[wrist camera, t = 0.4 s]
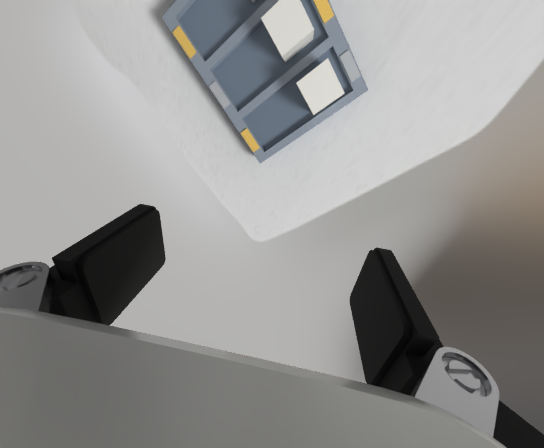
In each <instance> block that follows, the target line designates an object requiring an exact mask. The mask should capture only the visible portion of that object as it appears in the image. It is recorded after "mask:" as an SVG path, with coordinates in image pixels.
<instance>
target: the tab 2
mask: <svg viewBox="0 0 544 448" xmlns="http://www.w3.org/2000/svg"><path fill="white" fill-rule="evenodd" d="M296 84H297V86H298V87H299V89H300V91H301V93H302V95H303V97H304V98H305V100H306V102H307V104H308V106H309V108H310V110H311V111H312V113H313V115H315V114H316V113H317V112H319V111H320V110H322V109H323V108H325V107H326V106H327V105H329V104H330V103H332V102H333V101H335V100H336V99H337V98H339V97H340V96H342V95H343V94H345V93H344V91H343V89H342V86H341V84H340V82H339V80H338V78H337V76H336V74H335V72H334V70H333V68H332V65H331V63H330V61H329V59H328V58H327V59H326V60H325V61H324V62H322V63H321V64H320V65H318V66H317V67H316V68H315V69H313V70H312V71H311V72H310V73H308V74H307V75H306V76H304V77H303V78H302V79H301V80H299V81H298V82H297V83H296Z"/></svg>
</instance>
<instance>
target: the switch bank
mask: <svg viewBox="0 0 544 448" xmlns="http://www.w3.org/2000/svg"><path fill="white" fill-rule="evenodd" d="M278 1H279V0H256V1H255V2H254V3H253V2H252V0H176V1H175V2H174V3H173V4H172V6H171V7H170V8H169V9H168V11H167V12H166V13H165V14H164V16H163V17H162V19H163V21H164V22H165V24H166V25H167V27H168V28H169V30H170V31H171V33H172V34H173V36H174V37H175V39H176V40H177V42H178V43H179V45H180V46H181V47H182V49H183V50H184V52H185V53H186V55H187V56H188V58H189V59H190V61H191V62H192V64H193V65H194V67H195V68H196V70H197V71H198V73H199V74H200V76H201V77H202V78H203V80H204V81H205V83H206V84H207V86H208V87H209V89H210V90H211V92H212V93H213V95H214V96H215V98H216V99H217V101H218V102H219V104H220V105H221V106H222V108H223V109H224V111H225V112H226V114H227V115H228V117H229V118H230V120H231V121H232V123H233V124H234V126H235V127H236V129H237V130H238V132H239V133H240V134H241V136H242V137H243V139H244V140H245V142H246V143H247V145H248V146H249V148H250V149H251V151H252V152H253V154H254V155H255V157H256V158H257V160H258V161H259V163H262V162H263V161H264V160H266V159H267V158H269V157H270V156H272V155H273V154H275V153H276V152H278V151H279V150H281V149H282V148H284V147H285V146H287V145H288V144H290V143H291V142H293V141H294V140H295V139H297V138H298V137H300V136H301V135H303V134H304V133H306V132H307V131H309V130H310V129H312V128H313V127H315V126H316V125H318V124H319V123H321V122H322V121H323V120H325V119H326V118H328V117H329V116H331V115H332V114H334V113H335V112H337V111H338V110H340V109H341V108H343V107H344V106H346V105H347V104H349V103H350V102H352V101H353V100H354V99H356V98H357V97H359V96H360V95H362V94H363V93H365V92H366V91H367V90H368V88H367V86H366V84H365V81H364V79H363V77H362V75H361V72H360V70H359V68H358V65H357V63H356V61H355V59H354V56H353V54H352V52H351V50H350V47H349V45H348V43H347V40H346V38H345V36H344V34H343V31H342V29H341V27H340V25H339V22H338V20H337V18H336V15H335V13H334V11H333V9H332V6H331V4H330V2H329V0H300V1H301V3H302V5H303V7H304V9H305V11H306V13H307V15H308V17H309V19H310V22H311V24H312V26H313V28H314V36H313V40H312V41H311V42H309V43H308V44H307V45H306V46H305V47H304V48H302V49H301V50H300V51H299V52H298V53H296V54H295V55H294V56H293V57H292V58H290V59H289V60H288V61H287V62H286V63H285V61H284V60H283V58H282V56H281V54H280V52H279V51H278V49H277V47H276V45H275V43H274V41H273V40H272V38H271V36H270V34H269V32H268V30H267V29H266V27H265V25H264V23H263V21H262V19H261V18H262V17H263V16H264V15H265V14H266V13H267V12H268V11H269V10H270V9H271V8H272V7H273V6H274V5H275V4H276V3H277V2H278ZM327 58H328V59H329V61H330V63H331V65H332V68H333V70H334V72H335V74H336V76H337V78H338V80H339V82H340V84H341V86H342V89H343V91H344V93H345V94H343V95H342V96H340V97H339V98H337V99H336V100H335V101H333V102H332V103H330V104H329V105H327V106H326V107H325V108H323V109H322V110H320V111H319V112H317V113H316V114H315V115H313V113H312V111H311V110H310V108H309V106H308V104H307V102H306V100H305V98H304V97H303V95H302V93H301V91H300V89H299V87H298V86H297V84H296V83H297V82H298V81H299V80H301V79H302V78H303V77H304V76H306V75H307V74H308V73H310V72H311V71H312V70H313V69H315V68H316V67H317V66H318V65H320V64H321V63H322V62H324V61H325V60H326V59H327Z"/></svg>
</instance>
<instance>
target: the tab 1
mask: <svg viewBox="0 0 544 448" xmlns="http://www.w3.org/2000/svg"><path fill="white" fill-rule="evenodd" d="M261 19H262V21H263V23H264V25H265V27H266V29H267V30H268V32H269V34H270V36H271V38H272V40H273V41H274V43H275V45H276V47H277V49H278V51H279V52H280V54H281V56H282V58H283V60H284V61H285V63H286V62H287V61H288V60H289V59H290V58H292V57H293V56H294V55H295V54H296V53H298V52H299V51H300V50H301V49H302V48H304V47H305V46H306V45H307V44H308V43H309V42H311V41H312V40H313V36H314V28H313V26H312V24H311V22H310V19H309V17H308V15H307V13H306V11H305V9H304V7H303V5H302V3H301V1H300V0H279V1H278V2H277V3H276V4H275V5H274V6H273V7H272V8H271V9H270V10H269V11H268V12H267V13H266V14H265V15H264V16H263V17H262V18H261Z"/></svg>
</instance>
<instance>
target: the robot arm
mask: <svg viewBox="0 0 544 448" xmlns="http://www.w3.org/2000/svg"><path fill="white" fill-rule="evenodd" d="M52 260H53V262H54V264H55V265H54V266H52V267H51V268H49V266H48V265H47V264H45V263H42V262H26V263H20V264H17V265H13V266H10V267H7V268H4V269H2V270H0V448H544V435H543V434H542V433H541V432H539V431H538V430H537V429H535V428H534V427H533V426H532V425H530V424H529V423H527V422H526V421H525V420H524V419H522V418H521V417H520V416H519V415H517V414H516V413H515V412H514V411H512V410H511V409H510V408H509V407H507V406H506V405H505V404H503V403H502V402H501V401H499V390H498V387H497V385H496V383H495V381H494V379H493V378H492V377H491V375H490V374H489V372H488V371H487V370H486V369H485V368H484V367H483V366H482V365H481V364H480V363H479V362H477V361H476V360H475V359H473V358H472V357H471V356H469V355H468V354H466V353H464V352H462V351H460V350H457V349H455V348H450V347H443V345H442V343H441V342H440V340H439V336H438V335H437V333H436V331H435V329H434V327H433V325H432V323H431V322H430V320H429V318H428V316H427V314H426V313H425V311H424V309H423V307H422V305H421V303H420V302H419V300H418V298H417V296H416V294H415V293H414V291H413V289H412V287H411V285H410V284H409V282H408V280H407V278H406V276H405V274H404V273H403V271H402V269H401V267H400V265H399V263H398V262H397V260H396V258H395V256H394V254H393V253H392V251H391V250H386V249H381V248H375V249H374V250H370V251H369V253H368V255H367V258H366V260H365V262H364V265H363V267H362V269H361V272H360V274H359V276H358V279H357V281H356V284H355V286H354V288H353V291H352V293H351V296H350V306H351V310H352V316H353V320H354V326H355V331H356V336H357V341H358V345H359V350H360V355H361V360H362V365H363V370H364V374H365V380H366V382H367V384H365V383H361V382H357V381H353V380H349V379H345V378H341V377H337V376H333V375H329V374H324V373H320V372H316V371H311V370H307V369H302V368H298V367H293V366H289V365H285V364H280V363H276V362H272V361H267V360H263V359H258V358H254V357H250V356H245V355H240V354H236V353H232V352H227V351H223V350H218V349H214V348H209V347H205V346H200V345H196V344H191V343H187V342H182V341H178V340H173V339H168V338H163V337H159V336H155V335H150V334H146V333H141V332H136V331H132V330H127V329H122V328H118V327H113V326H109V325H110V324H112V323H113V322H114V320H115V319H116V318H117V317H118V316H119V315H120V314H121V312H122V311H123V310H124V309H125V308H126V307H127V306H128V305H129V303H130V302H131V301H132V300H133V299H134V298H135V297H136V295H137V294H138V293H139V292H140V291H141V290H142V288H144V286H145V285H146V284H147V283H148V282H149V281H150V280H151V279H152V277H153V276H154V275H155V274H156V273H157V271H159V269H160V268H161V267H162V266H163V265H164V262H165V251H164V244H163V236H162V228H161V221H160V214H159V211H157V210H156V208H155V207H154V206H149V205H144V204H139V205H137V206H136V207H134V208H132V209H131V210H129V211H128V212H126V213H124V214H123V215H121V216H120V217H118V218H116V219H114V220H113V221H111V222H110V223H108V224H106V225H105V226H103V227H101V228H100V229H98V230H97V231H95V232H93V233H92V234H90V235H88V236H87V237H85V238H83V239H82V240H80V241H79V242H77V243H75V244H74V245H72V246H70V247H69V248H67V249H65V250H64V251H62V252H61V253H59V254H57V255H56V256H54V257H52Z"/></svg>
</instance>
